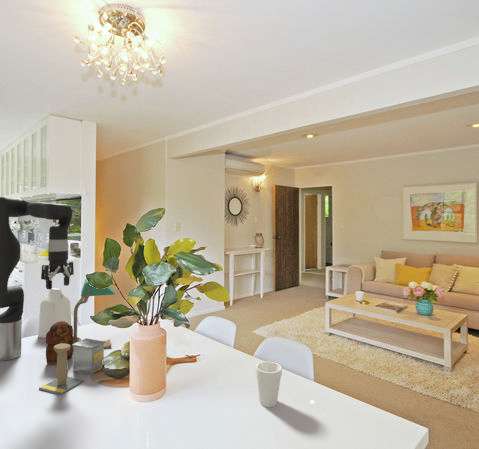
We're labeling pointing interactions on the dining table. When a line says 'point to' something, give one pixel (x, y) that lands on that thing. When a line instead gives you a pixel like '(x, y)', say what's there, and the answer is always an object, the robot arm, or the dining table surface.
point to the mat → (61, 386)
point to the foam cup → (268, 382)
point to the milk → (53, 311)
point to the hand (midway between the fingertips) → (57, 287)
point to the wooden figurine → (58, 340)
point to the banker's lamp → (85, 293)
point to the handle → (62, 362)
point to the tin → (88, 356)
